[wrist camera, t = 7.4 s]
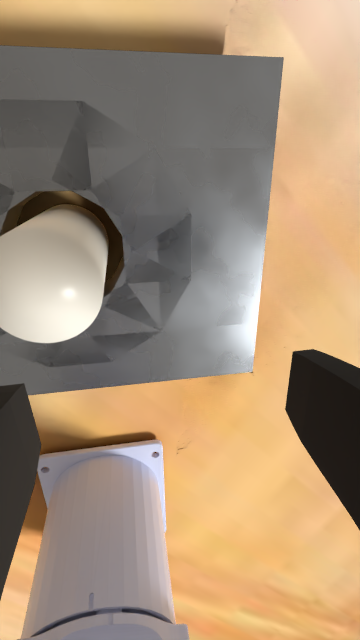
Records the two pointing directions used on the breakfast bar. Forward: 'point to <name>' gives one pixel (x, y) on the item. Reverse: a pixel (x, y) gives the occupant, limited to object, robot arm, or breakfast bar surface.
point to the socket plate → (146, 203)
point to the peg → (53, 274)
